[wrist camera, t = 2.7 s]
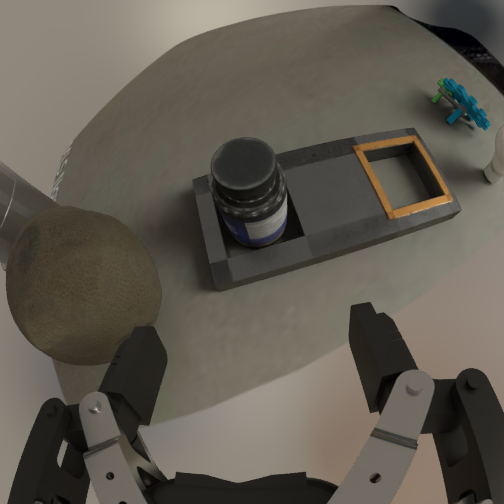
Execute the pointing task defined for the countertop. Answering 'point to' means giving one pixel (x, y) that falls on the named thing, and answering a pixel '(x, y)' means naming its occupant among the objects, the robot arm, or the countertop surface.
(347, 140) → the grey rectangular tray
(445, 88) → the blue branched piece
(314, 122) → the countertop surface
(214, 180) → the pill bottle
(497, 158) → the lightbulb
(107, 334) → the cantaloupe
